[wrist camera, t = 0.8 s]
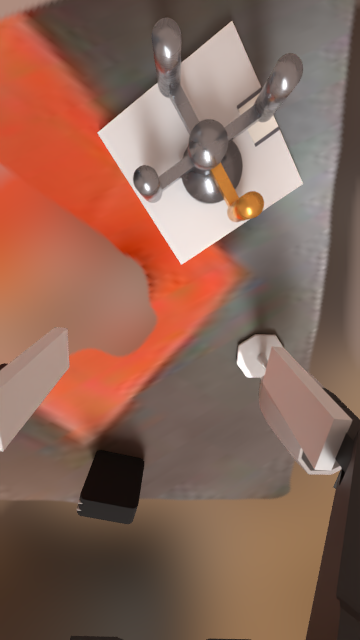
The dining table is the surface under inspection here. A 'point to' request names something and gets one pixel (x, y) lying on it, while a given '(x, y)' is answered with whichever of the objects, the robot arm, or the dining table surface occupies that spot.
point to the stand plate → (173, 138)
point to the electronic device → (112, 488)
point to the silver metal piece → (211, 132)
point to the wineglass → (254, 365)
